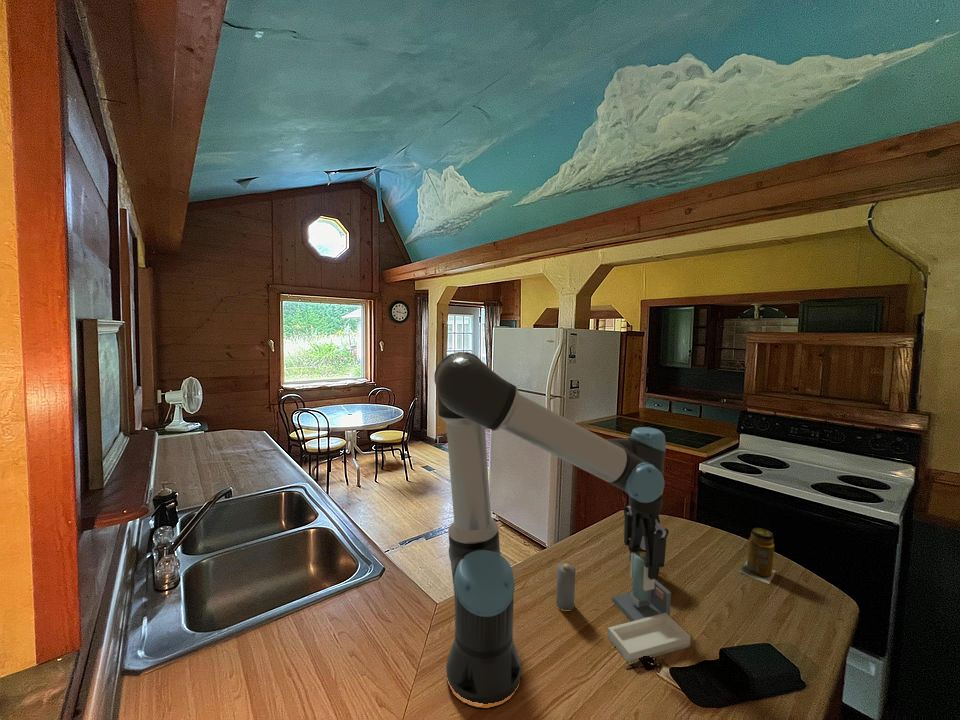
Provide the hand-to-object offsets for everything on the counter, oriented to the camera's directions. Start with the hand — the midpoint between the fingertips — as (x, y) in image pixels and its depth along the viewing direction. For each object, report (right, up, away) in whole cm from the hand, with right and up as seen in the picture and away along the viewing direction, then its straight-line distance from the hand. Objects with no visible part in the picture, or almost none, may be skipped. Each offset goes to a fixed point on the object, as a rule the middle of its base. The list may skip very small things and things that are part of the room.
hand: (641, 582), depth 102 cm
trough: (-2, -8, -9) cm, 13 cm away
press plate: (0, -5, +1) cm, 5 cm away
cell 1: (-18, -7, +2) cm, 20 cm away
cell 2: (0, -3, 0) cm, 3 cm away
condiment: (+40, -6, +17) cm, 44 cm away
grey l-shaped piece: (0, -7, +1) cm, 7 cm away
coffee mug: (+8, -6, +16) cm, 18 cm away
